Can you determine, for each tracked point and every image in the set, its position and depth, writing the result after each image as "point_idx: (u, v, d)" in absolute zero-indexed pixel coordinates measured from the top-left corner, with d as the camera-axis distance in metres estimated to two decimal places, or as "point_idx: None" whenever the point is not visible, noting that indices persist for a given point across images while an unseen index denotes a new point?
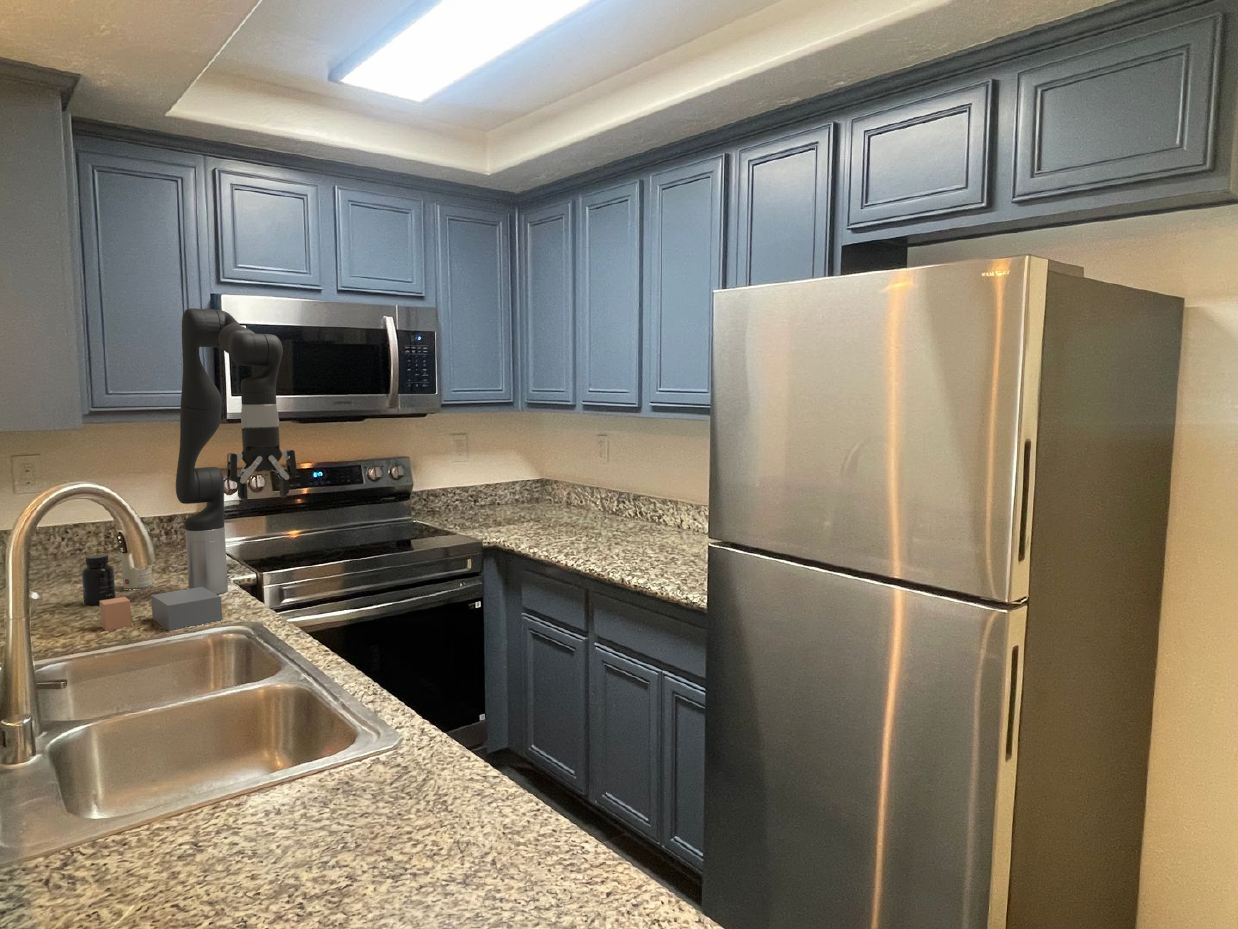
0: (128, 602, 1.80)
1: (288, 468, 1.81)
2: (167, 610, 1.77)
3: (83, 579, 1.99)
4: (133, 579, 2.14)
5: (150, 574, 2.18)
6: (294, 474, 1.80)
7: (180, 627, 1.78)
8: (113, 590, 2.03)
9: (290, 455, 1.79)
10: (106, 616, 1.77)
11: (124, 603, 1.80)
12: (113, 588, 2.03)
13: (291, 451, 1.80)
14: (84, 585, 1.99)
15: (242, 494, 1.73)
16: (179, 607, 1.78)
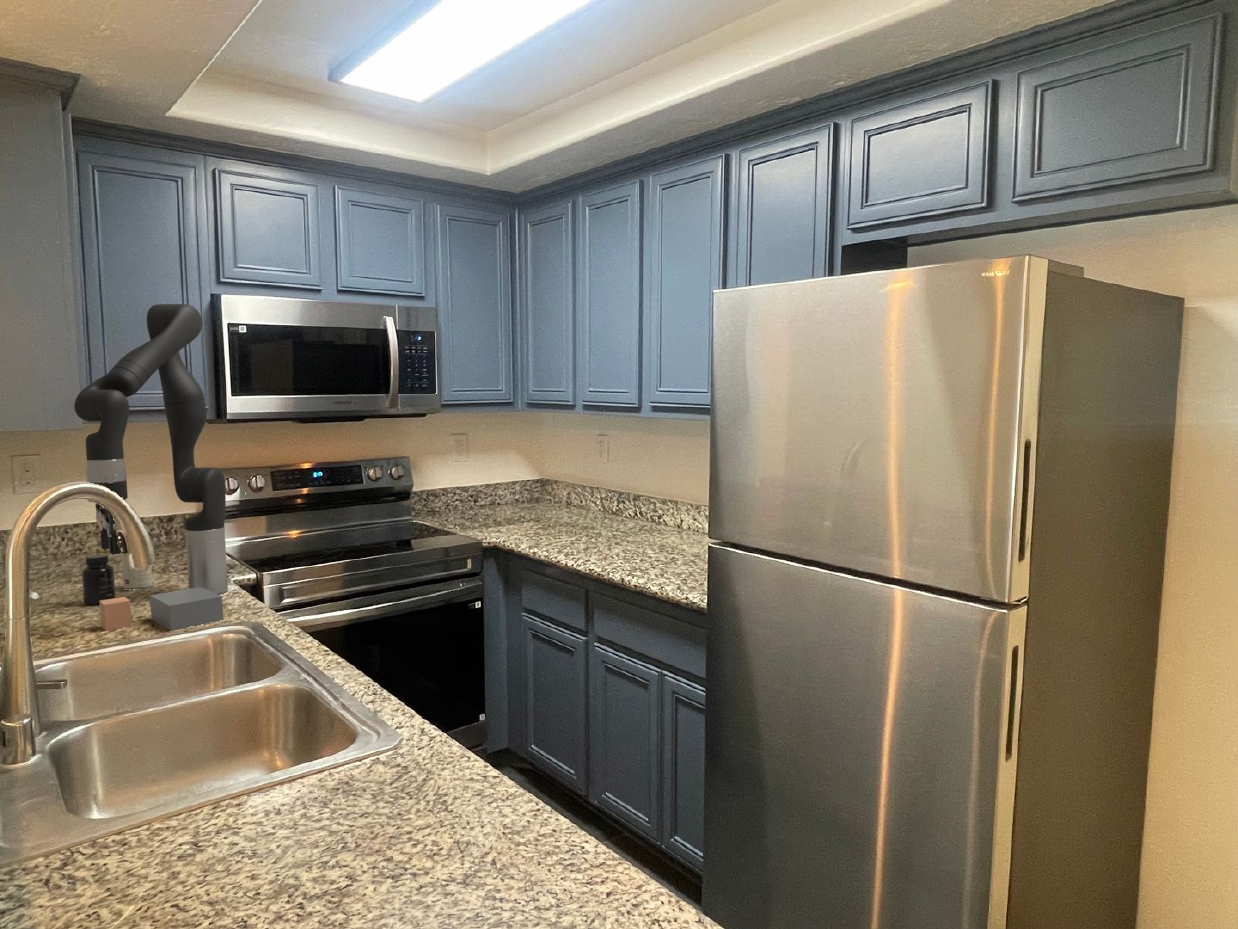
0: (128, 602, 1.80)
1: None
2: (169, 610, 1.77)
3: (83, 579, 1.99)
4: (133, 579, 2.14)
5: (150, 574, 2.18)
6: None
7: (182, 627, 1.78)
8: (113, 590, 2.03)
9: None
10: (106, 616, 1.77)
11: (124, 603, 1.80)
12: (113, 588, 2.03)
13: None
14: (84, 585, 1.99)
15: None
16: (181, 607, 1.78)
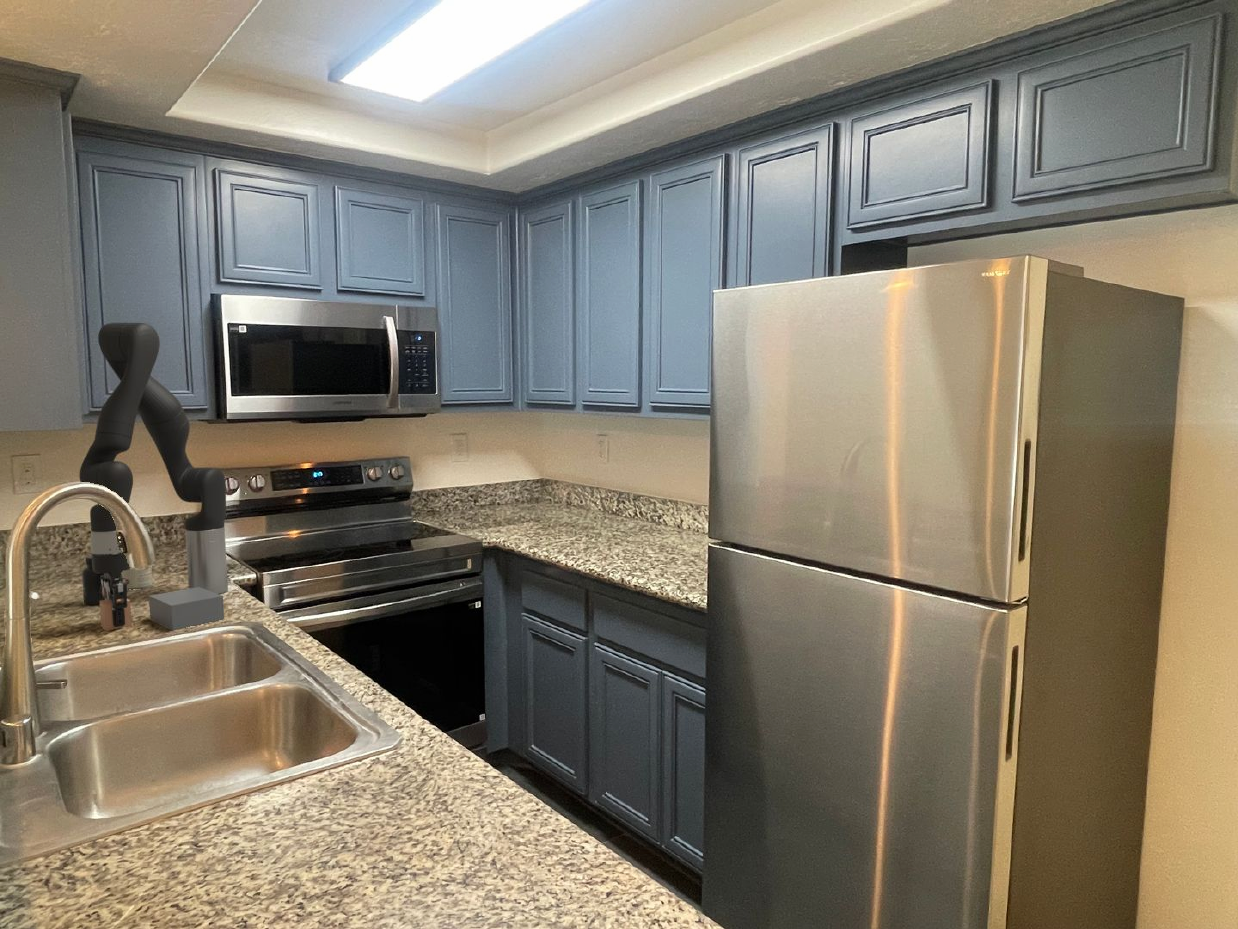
0: (128, 602, 1.80)
1: None
2: (170, 610, 1.77)
3: (83, 579, 1.99)
4: (133, 579, 2.14)
5: (150, 574, 2.18)
6: None
7: (183, 627, 1.78)
8: None
9: None
10: (106, 616, 1.77)
11: None
12: None
13: None
14: (84, 585, 1.99)
15: None
16: (182, 607, 1.78)
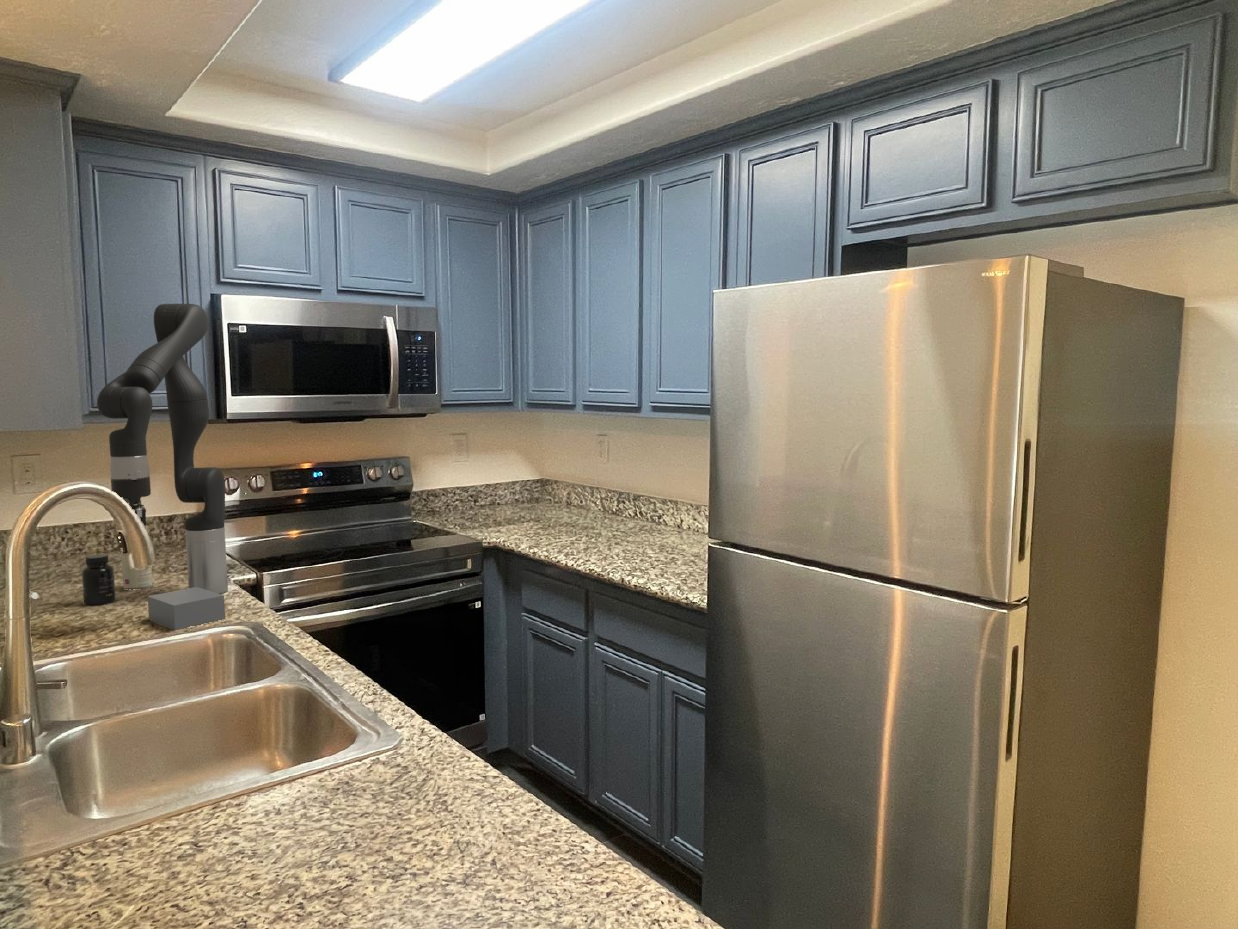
0: None
1: None
2: (172, 610, 1.77)
3: (83, 579, 1.99)
4: (133, 579, 2.14)
5: (150, 574, 2.18)
6: None
7: (185, 626, 1.78)
8: (113, 590, 2.03)
9: None
10: None
11: None
12: (113, 588, 2.03)
13: None
14: (84, 585, 1.99)
15: None
16: (184, 607, 1.78)
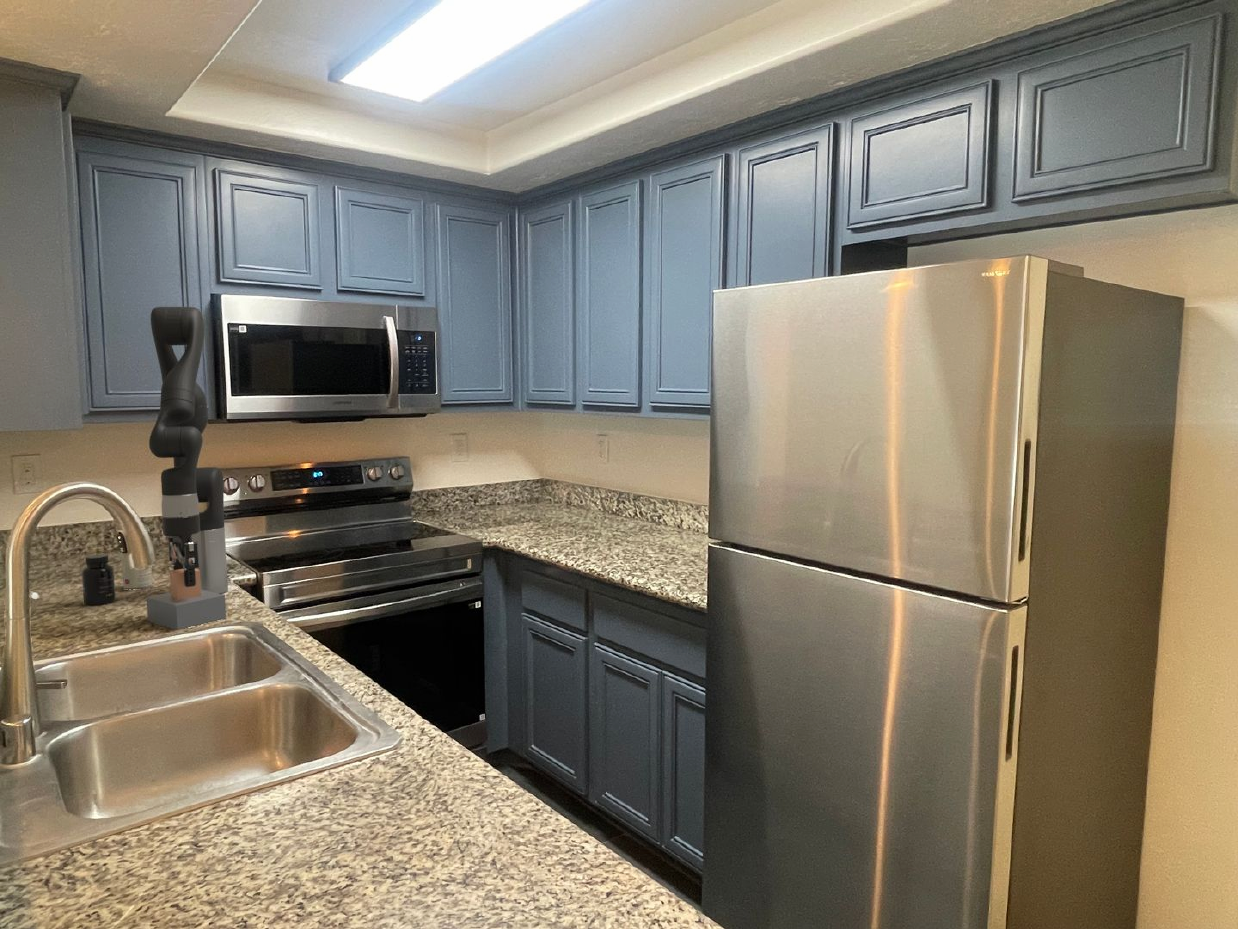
0: (198, 572, 1.84)
1: None
2: (175, 610, 1.77)
3: (83, 579, 1.99)
4: (133, 579, 2.14)
5: (150, 574, 2.18)
6: None
7: (188, 626, 1.79)
8: (113, 590, 2.03)
9: None
10: (178, 585, 1.81)
11: None
12: (113, 588, 2.03)
13: None
14: (84, 585, 1.99)
15: None
16: (187, 607, 1.78)
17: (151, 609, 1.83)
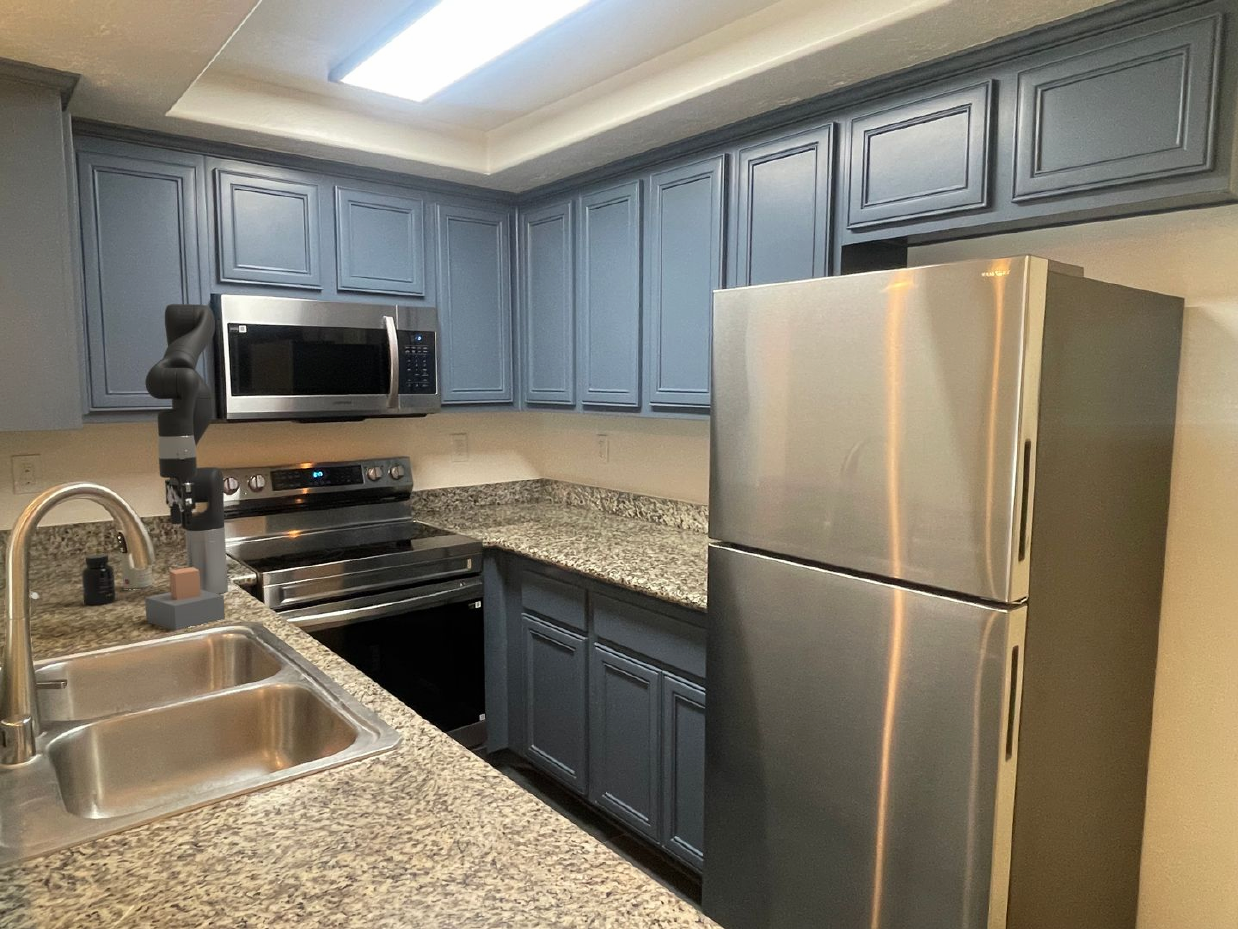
0: (197, 572, 1.84)
1: None
2: (173, 610, 1.77)
3: (83, 579, 1.99)
4: (133, 579, 2.14)
5: (150, 574, 2.18)
6: None
7: (186, 627, 1.78)
8: (113, 590, 2.03)
9: None
10: (177, 585, 1.82)
11: (194, 573, 1.84)
12: (113, 588, 2.03)
13: None
14: (84, 585, 1.99)
15: None
16: (185, 607, 1.78)
17: (150, 609, 1.83)
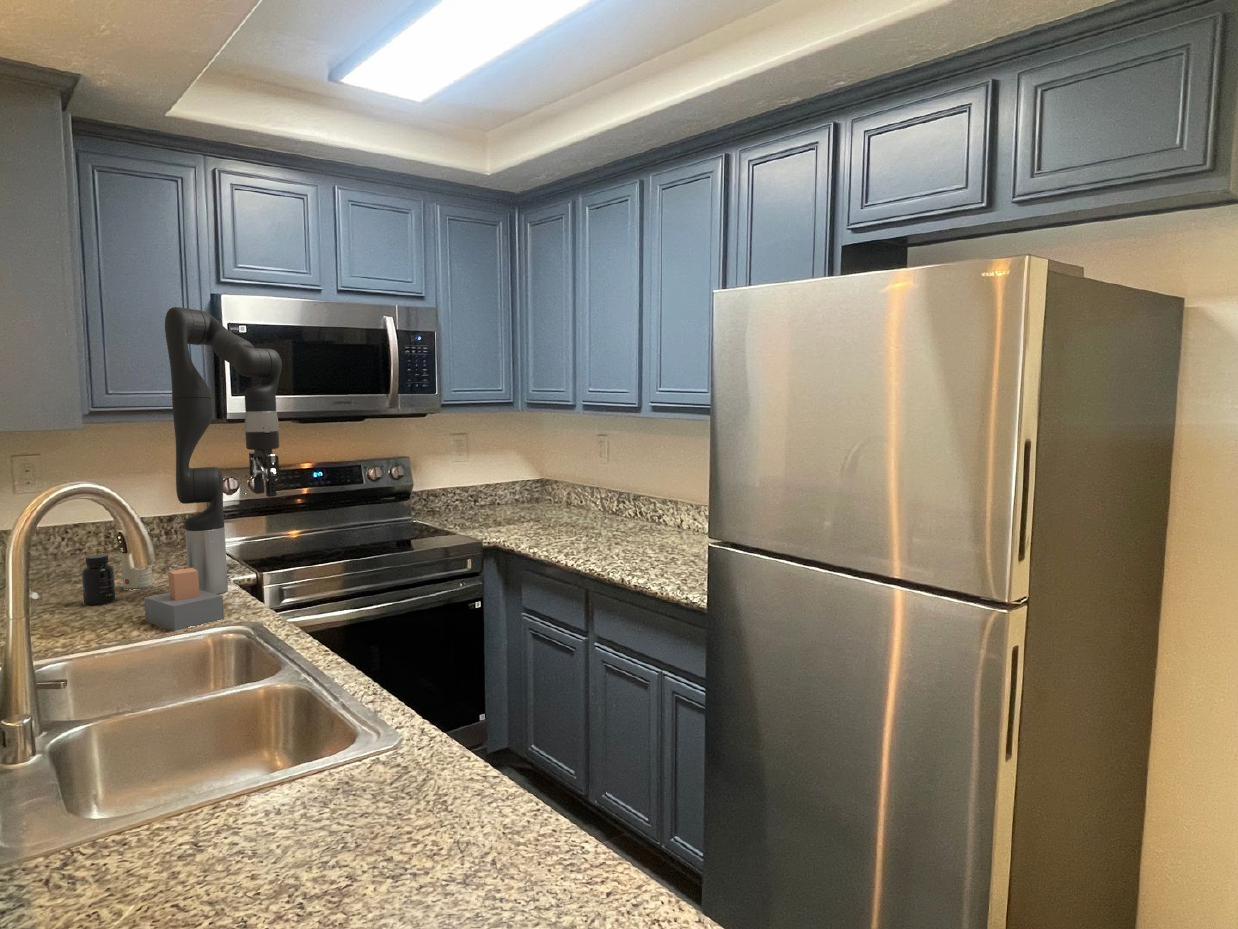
0: (196, 572, 1.84)
1: None
2: (172, 611, 1.76)
3: (83, 579, 1.99)
4: (133, 579, 2.14)
5: (150, 574, 2.18)
6: None
7: (185, 627, 1.78)
8: (113, 590, 2.03)
9: None
10: (175, 585, 1.81)
11: (192, 573, 1.83)
12: (113, 588, 2.03)
13: None
14: (84, 585, 1.99)
15: None
16: (184, 607, 1.78)
17: (149, 609, 1.83)
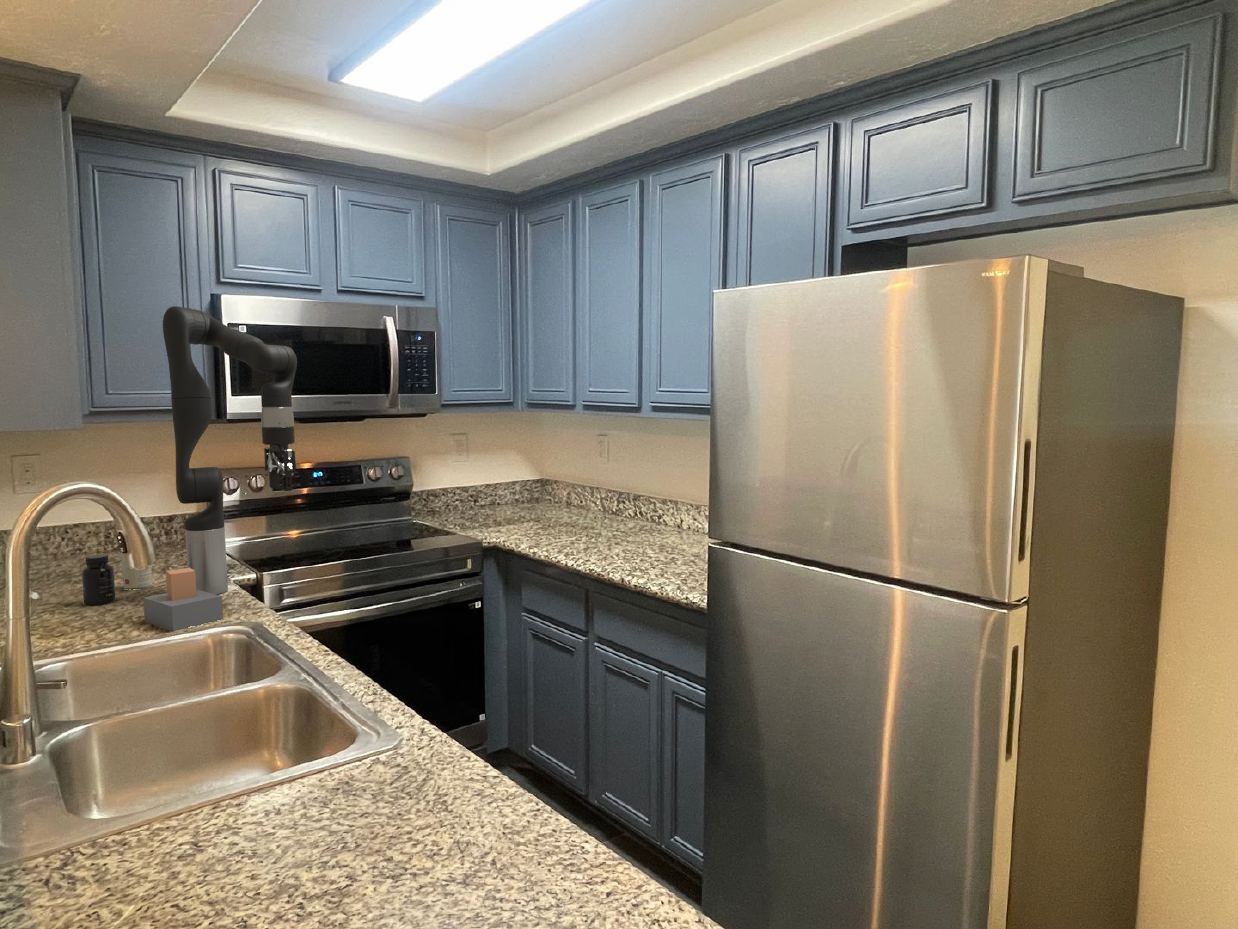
0: (193, 572, 1.84)
1: (267, 464, 2.05)
2: (171, 611, 1.76)
3: (83, 579, 1.99)
4: (133, 579, 2.14)
5: (150, 574, 2.18)
6: None
7: (183, 627, 1.78)
8: (113, 590, 2.03)
9: None
10: (172, 585, 1.81)
11: (189, 573, 1.83)
12: (113, 588, 2.03)
13: None
14: (84, 585, 1.99)
15: None
16: (182, 608, 1.78)
17: (148, 610, 1.83)
